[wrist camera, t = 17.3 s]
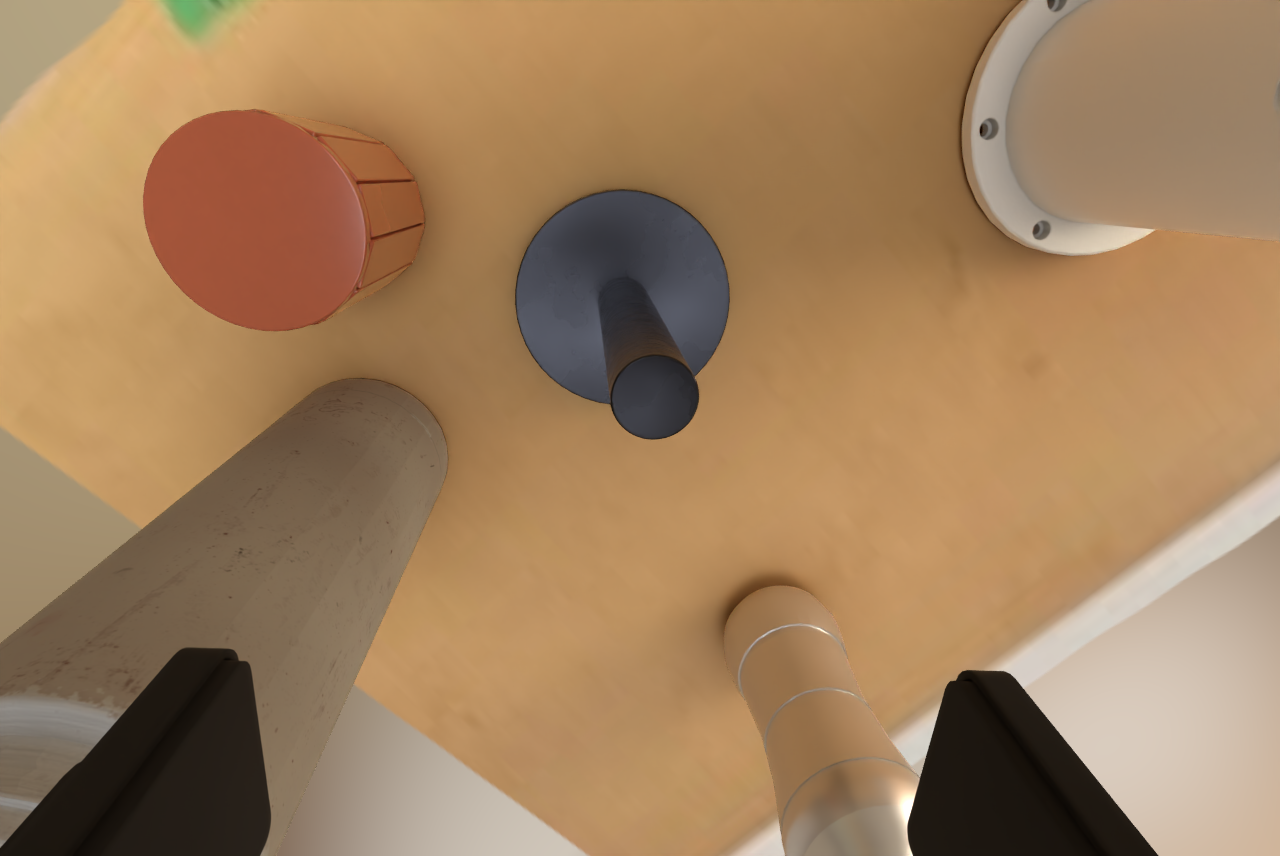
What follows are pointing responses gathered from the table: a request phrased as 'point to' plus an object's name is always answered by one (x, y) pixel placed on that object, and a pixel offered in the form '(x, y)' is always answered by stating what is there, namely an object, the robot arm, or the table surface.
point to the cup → (279, 216)
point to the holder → (625, 306)
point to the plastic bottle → (817, 730)
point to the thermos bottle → (236, 593)
